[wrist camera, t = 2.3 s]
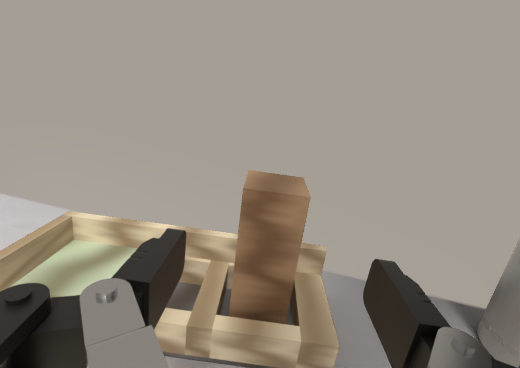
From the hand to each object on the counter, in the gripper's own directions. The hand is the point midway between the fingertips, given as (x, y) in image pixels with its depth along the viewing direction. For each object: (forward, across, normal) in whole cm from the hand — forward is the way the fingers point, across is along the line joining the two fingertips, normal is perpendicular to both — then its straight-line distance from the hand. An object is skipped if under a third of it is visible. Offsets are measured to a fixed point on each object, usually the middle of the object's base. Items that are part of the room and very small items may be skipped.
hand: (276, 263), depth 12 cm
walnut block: (+12, 0, +14) cm, 18 cm away
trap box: (+12, +7, +14) cm, 20 cm away
